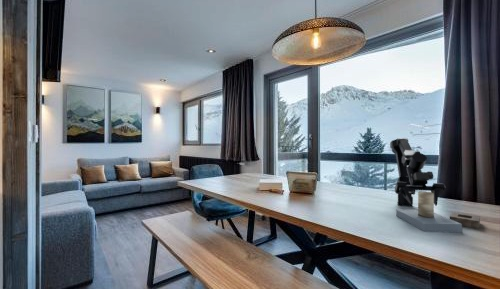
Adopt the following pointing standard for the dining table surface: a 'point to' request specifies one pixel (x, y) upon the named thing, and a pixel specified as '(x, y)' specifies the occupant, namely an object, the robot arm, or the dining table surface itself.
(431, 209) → the leg
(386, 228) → the dining table surface
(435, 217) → the board
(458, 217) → the frame
